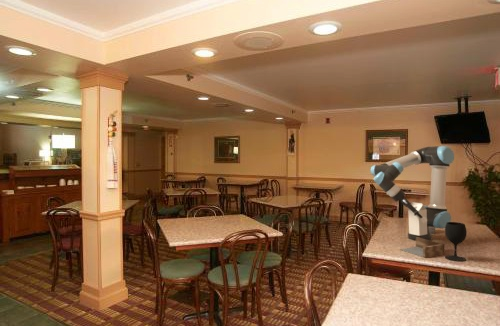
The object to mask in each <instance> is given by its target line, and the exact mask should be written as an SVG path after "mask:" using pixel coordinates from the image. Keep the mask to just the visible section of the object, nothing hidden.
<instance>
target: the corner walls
mask: <svg viewBox="0 0 500 326" xmlns="http://www.w3.org/2000/svg"><path fill="white" fill-rule="evenodd" d="M415 247H420V248H423V257H422V258H425V259H426V258H431V257H432V256H433V257H437V256H438V257H439V256H443V255H444V256H445V243H441V242H437V241H433V240H426V239H422V238H418V237H416V240H415Z"/></svg>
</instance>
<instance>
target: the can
mask: <svg viewBox="0 0 500 326" xmlns="http://www.w3.org/2000/svg"><path fill="white" fill-rule="evenodd" d="M429 230H430V233H431V235H436V228H435V227H431V226H429Z"/></svg>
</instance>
